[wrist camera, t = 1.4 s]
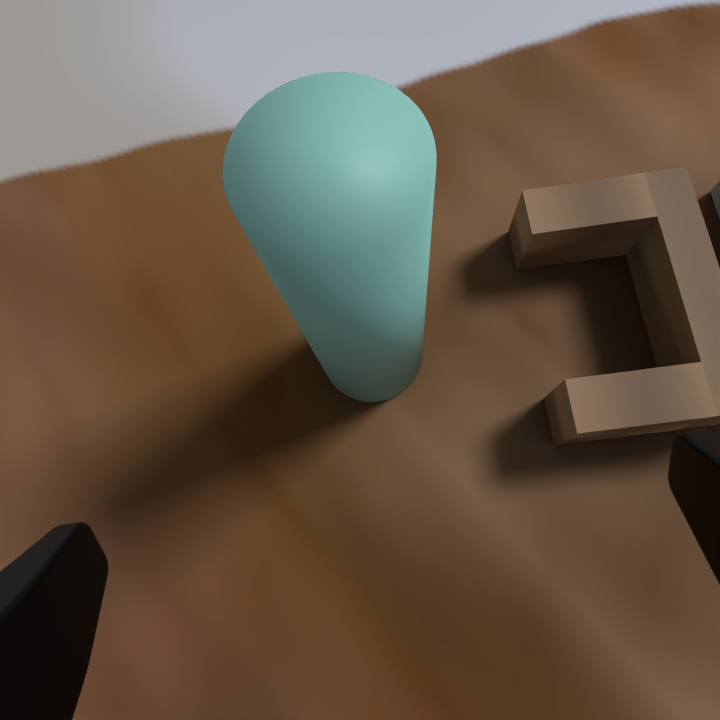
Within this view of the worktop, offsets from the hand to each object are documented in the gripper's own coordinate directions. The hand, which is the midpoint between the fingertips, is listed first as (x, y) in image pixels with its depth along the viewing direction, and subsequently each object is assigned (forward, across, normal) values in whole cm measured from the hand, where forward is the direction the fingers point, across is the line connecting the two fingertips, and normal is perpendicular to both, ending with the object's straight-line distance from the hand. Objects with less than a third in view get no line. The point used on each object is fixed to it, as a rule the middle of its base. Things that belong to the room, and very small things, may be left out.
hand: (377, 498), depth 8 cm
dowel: (+13, 0, +5) cm, 14 cm away
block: (+13, -9, +5) cm, 16 cm away
